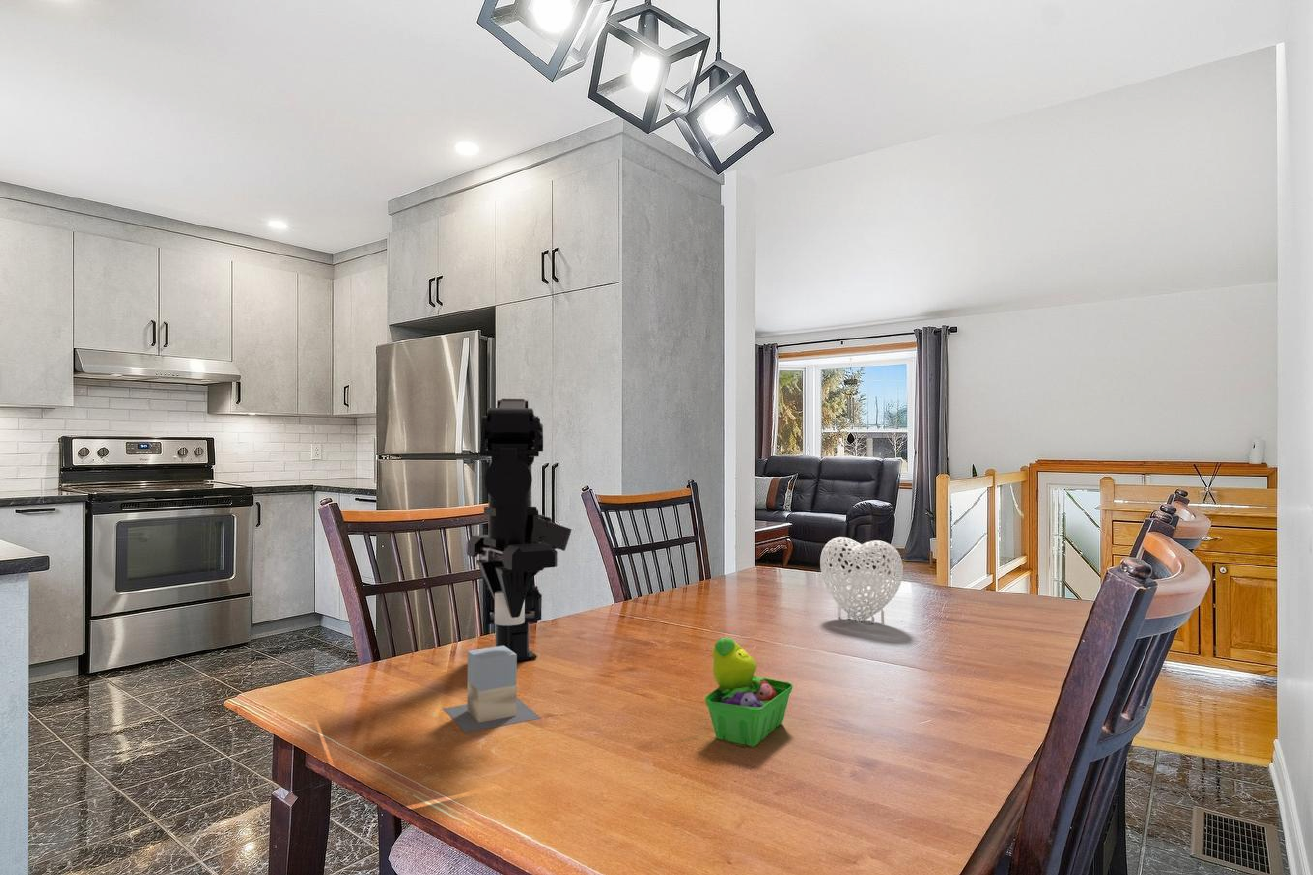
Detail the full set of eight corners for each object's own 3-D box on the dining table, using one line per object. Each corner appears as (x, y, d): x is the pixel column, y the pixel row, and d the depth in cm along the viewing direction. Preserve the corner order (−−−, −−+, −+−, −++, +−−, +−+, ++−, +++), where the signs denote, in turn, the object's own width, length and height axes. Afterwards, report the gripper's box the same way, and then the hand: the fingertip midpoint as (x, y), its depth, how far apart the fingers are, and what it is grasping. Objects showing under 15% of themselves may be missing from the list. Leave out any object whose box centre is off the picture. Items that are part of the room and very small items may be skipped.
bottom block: (467, 710, 97) (467, 680, 97) (503, 704, 99) (503, 674, 99) (479, 722, 93) (479, 691, 93) (516, 715, 95) (516, 684, 95)
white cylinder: (490, 621, 99) (490, 591, 99) (518, 617, 101) (518, 589, 101) (500, 626, 96) (501, 596, 96) (529, 623, 98) (529, 593, 98)
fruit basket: (759, 753, 84) (759, 656, 85) (692, 737, 89) (693, 645, 89) (795, 722, 94) (795, 635, 94) (733, 710, 99) (733, 626, 99)
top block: (467, 680, 97) (467, 650, 97) (503, 674, 99) (503, 645, 100) (479, 691, 93) (479, 659, 93) (516, 684, 95) (516, 654, 95)
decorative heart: (913, 624, 147) (913, 540, 148) (887, 633, 140) (887, 545, 140) (836, 610, 160) (836, 533, 161) (808, 618, 153) (808, 537, 153)
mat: (443, 711, 98) (443, 708, 98) (514, 698, 103) (514, 695, 103) (465, 736, 89) (465, 733, 89) (541, 721, 94) (541, 718, 94)
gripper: (594, 500, 95) (593, 620, 95) (537, 495, 111) (537, 598, 111) (513, 503, 89) (513, 630, 89) (466, 497, 105) (465, 605, 105)
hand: (509, 614), depth 98 cm, fingers closed on white cylinder, 4 cm apart
